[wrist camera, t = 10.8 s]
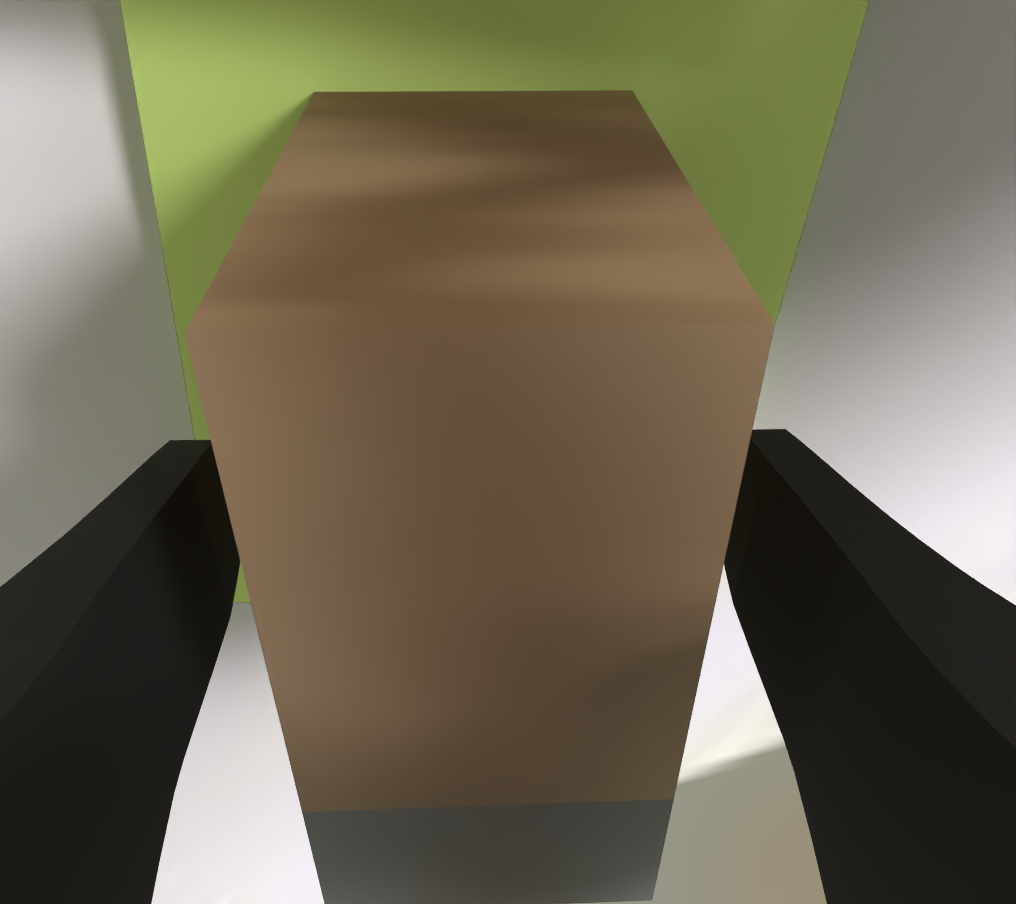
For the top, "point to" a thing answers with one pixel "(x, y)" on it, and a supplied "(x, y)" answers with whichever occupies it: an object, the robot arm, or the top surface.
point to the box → (481, 481)
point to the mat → (487, 67)
